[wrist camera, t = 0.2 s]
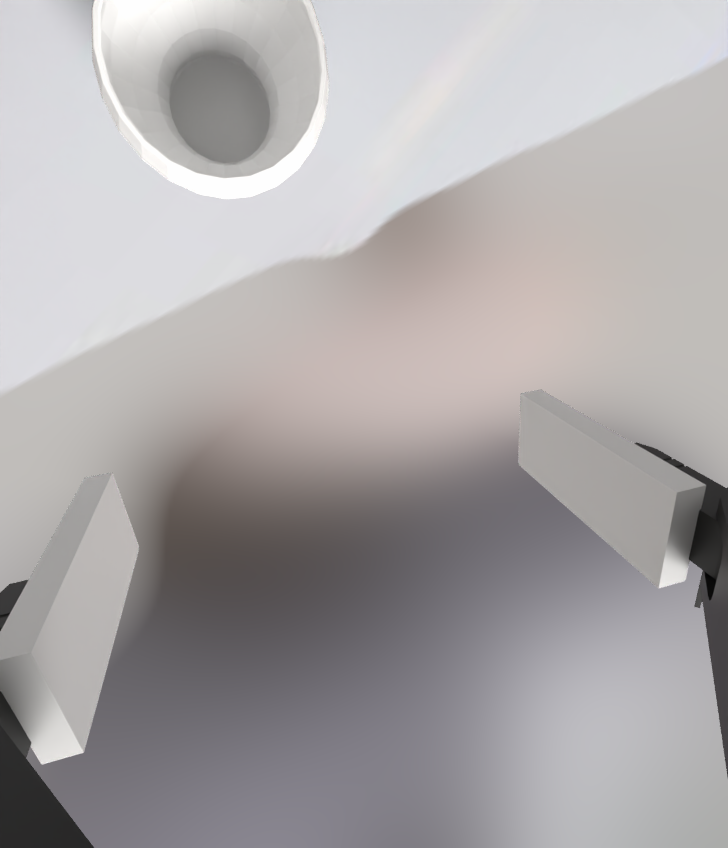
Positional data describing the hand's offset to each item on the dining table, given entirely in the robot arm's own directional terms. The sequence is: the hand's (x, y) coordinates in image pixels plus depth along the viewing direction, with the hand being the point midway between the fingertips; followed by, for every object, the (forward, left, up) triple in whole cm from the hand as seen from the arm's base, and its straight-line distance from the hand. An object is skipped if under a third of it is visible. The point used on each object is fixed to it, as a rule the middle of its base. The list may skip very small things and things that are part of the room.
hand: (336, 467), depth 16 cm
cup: (-14, -1, -27) cm, 31 cm away
